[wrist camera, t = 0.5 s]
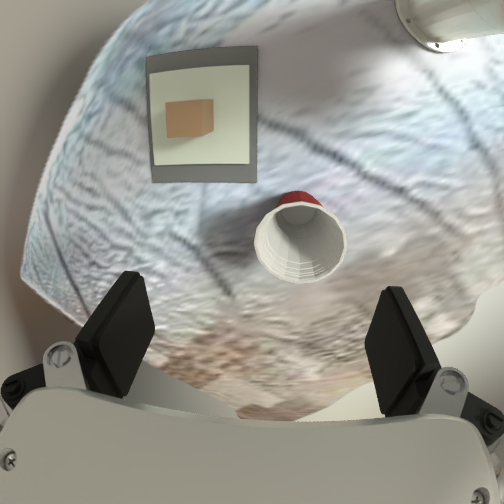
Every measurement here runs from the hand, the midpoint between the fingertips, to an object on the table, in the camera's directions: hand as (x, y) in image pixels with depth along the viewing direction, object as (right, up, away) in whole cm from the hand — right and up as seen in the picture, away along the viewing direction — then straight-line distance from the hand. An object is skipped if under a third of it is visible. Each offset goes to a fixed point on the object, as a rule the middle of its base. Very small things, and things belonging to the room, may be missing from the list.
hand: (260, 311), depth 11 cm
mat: (-8, +21, +26) cm, 35 cm away
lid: (-8, +21, +26) cm, 34 cm away
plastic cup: (+6, +9, +32) cm, 34 cm away
